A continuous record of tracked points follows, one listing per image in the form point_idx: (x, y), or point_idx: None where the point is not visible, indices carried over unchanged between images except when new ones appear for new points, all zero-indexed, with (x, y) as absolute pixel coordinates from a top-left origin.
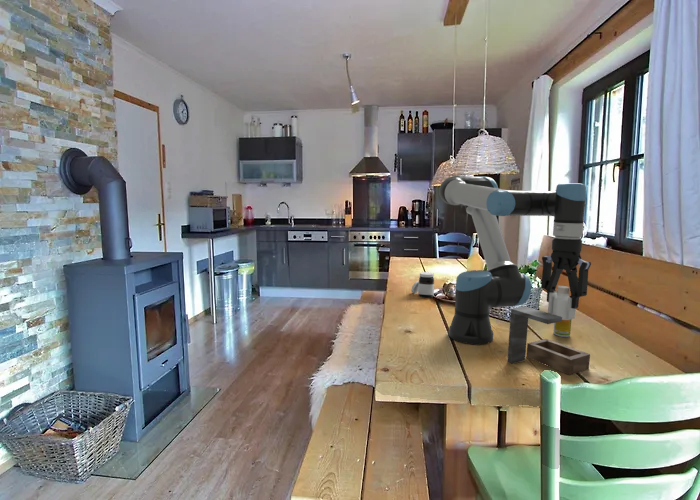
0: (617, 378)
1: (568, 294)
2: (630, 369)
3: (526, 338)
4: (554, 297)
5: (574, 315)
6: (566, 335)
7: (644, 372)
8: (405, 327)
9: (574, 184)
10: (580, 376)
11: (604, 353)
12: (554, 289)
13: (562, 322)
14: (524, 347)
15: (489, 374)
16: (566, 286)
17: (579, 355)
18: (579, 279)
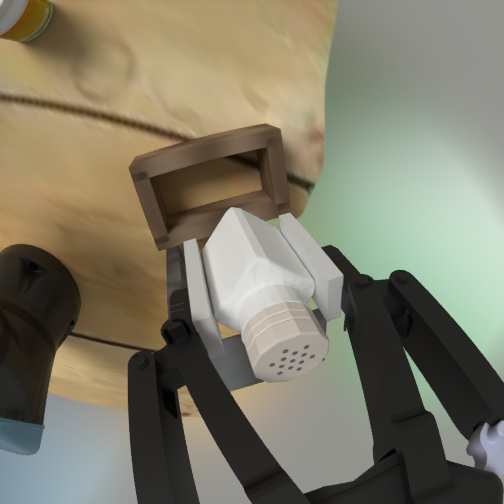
0: (324, 105)
1: (305, 305)
2: (300, 27)
3: (181, 281)
4: (235, 328)
5: (295, 221)
6: (50, 15)
7: (321, 17)
8: None
9: None
10: (288, 178)
11: None
12: (199, 342)
13: (22, 22)
14: (181, 270)
15: (225, 333)
16: (291, 338)
17: (277, 168)
18: (435, 382)
